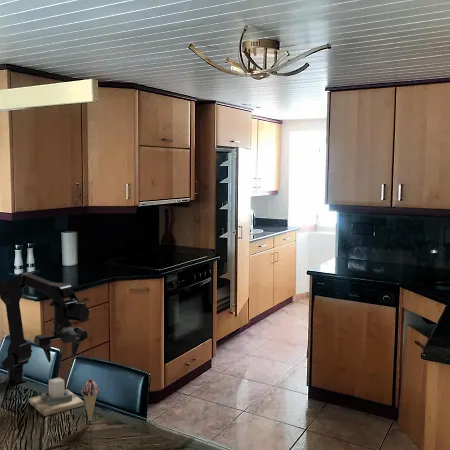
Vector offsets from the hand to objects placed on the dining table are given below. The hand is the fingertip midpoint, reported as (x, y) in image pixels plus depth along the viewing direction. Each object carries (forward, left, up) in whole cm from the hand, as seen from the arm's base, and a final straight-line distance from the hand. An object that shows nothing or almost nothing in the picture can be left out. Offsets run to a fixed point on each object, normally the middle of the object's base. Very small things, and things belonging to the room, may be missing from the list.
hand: (61, 359), depth 188 cm
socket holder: (+10, -6, -12) cm, 17 cm away
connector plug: (+10, -6, -10) cm, 16 cm away
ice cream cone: (+32, -4, -12) cm, 34 cm away
